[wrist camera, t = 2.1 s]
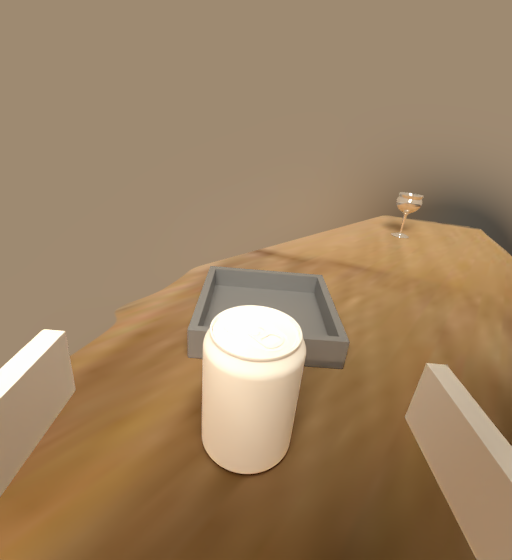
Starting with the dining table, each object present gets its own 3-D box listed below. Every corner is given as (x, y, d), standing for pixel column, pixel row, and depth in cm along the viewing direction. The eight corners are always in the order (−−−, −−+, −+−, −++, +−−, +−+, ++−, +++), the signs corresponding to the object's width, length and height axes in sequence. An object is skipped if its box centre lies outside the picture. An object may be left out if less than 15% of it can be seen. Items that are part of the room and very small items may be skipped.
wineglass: (386, 235, 96) (396, 194, 91) (389, 230, 101) (400, 191, 96) (410, 240, 93) (423, 198, 88) (413, 235, 98) (425, 195, 93)
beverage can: (245, 390, 35) (254, 293, 30) (306, 438, 31) (329, 331, 25) (183, 434, 30) (181, 324, 25) (246, 500, 25) (259, 381, 20)
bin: (318, 295, 57) (322, 275, 55) (342, 368, 40) (349, 342, 38) (210, 287, 57) (210, 266, 55) (187, 357, 39) (187, 329, 38)
